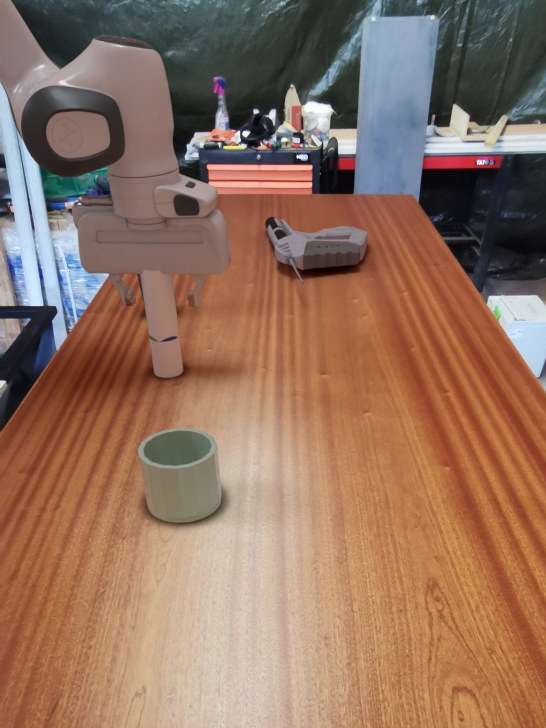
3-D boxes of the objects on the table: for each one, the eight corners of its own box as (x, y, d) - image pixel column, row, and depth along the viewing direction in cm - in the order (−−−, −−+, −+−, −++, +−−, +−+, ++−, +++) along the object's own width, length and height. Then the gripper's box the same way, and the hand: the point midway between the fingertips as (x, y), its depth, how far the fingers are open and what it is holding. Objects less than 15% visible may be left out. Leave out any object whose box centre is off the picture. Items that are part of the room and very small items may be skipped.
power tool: (351, 234, 162) (261, 237, 160) (353, 208, 159) (261, 210, 157) (405, 296, 128) (291, 301, 126) (408, 264, 124) (291, 269, 122)
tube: (159, 364, 111) (145, 259, 101) (186, 366, 110) (175, 261, 100) (150, 376, 108) (134, 270, 98) (178, 378, 107) (165, 271, 97)
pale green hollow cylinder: (138, 520, 81) (128, 466, 77) (158, 479, 88) (149, 426, 83) (213, 525, 80) (207, 470, 76) (227, 483, 87) (223, 429, 82)
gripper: (59, 202, 92) (83, 312, 102) (219, 201, 90) (228, 314, 99) (76, 189, 97) (97, 295, 106) (229, 188, 95) (236, 297, 104)
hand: (162, 305), depth 103 cm, fingers open, 8 cm apart
